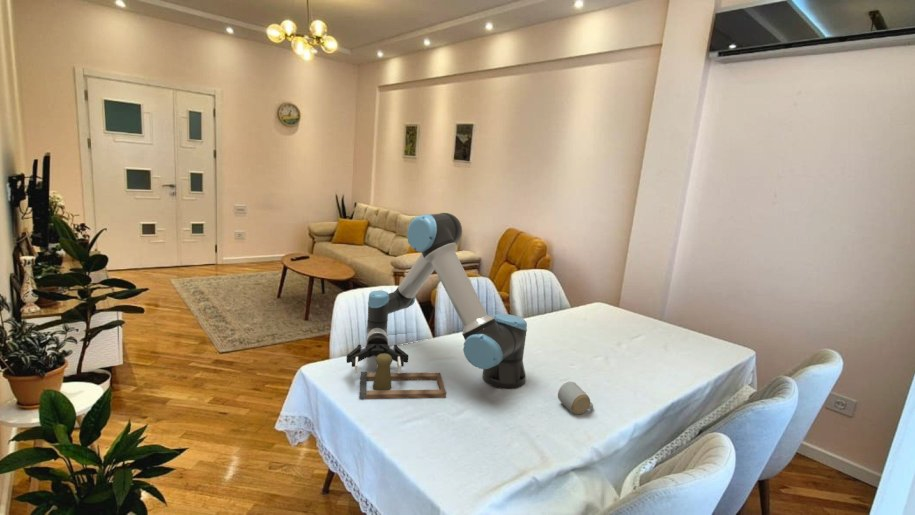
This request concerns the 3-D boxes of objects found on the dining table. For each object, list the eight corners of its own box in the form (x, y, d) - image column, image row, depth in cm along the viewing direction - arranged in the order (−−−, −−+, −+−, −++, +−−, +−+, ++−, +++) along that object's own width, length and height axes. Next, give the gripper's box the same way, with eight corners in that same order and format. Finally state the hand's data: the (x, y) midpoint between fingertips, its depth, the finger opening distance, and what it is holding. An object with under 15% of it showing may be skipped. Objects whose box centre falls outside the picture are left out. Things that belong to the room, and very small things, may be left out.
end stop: (366, 377, 153) (366, 371, 153) (365, 399, 140) (366, 393, 139) (360, 377, 153) (360, 371, 152) (359, 399, 139) (359, 393, 139)
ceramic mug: (571, 417, 139) (574, 394, 137) (555, 403, 146) (559, 381, 145) (598, 413, 143) (602, 391, 142) (582, 399, 151) (586, 378, 149)
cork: (376, 392, 144) (378, 360, 141) (370, 383, 149) (372, 352, 146) (394, 389, 146) (396, 357, 144) (387, 381, 152) (389, 350, 149)
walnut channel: (439, 376, 158) (440, 372, 157) (446, 397, 144) (446, 393, 144) (366, 377, 153) (366, 373, 153) (365, 399, 140) (366, 394, 139)
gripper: (411, 351, 167) (416, 379, 147) (341, 351, 162) (337, 380, 142) (412, 332, 165) (418, 358, 145) (342, 332, 161) (337, 358, 140)
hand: (378, 369), depth 143 cm, fingers open, 13 cm apart
